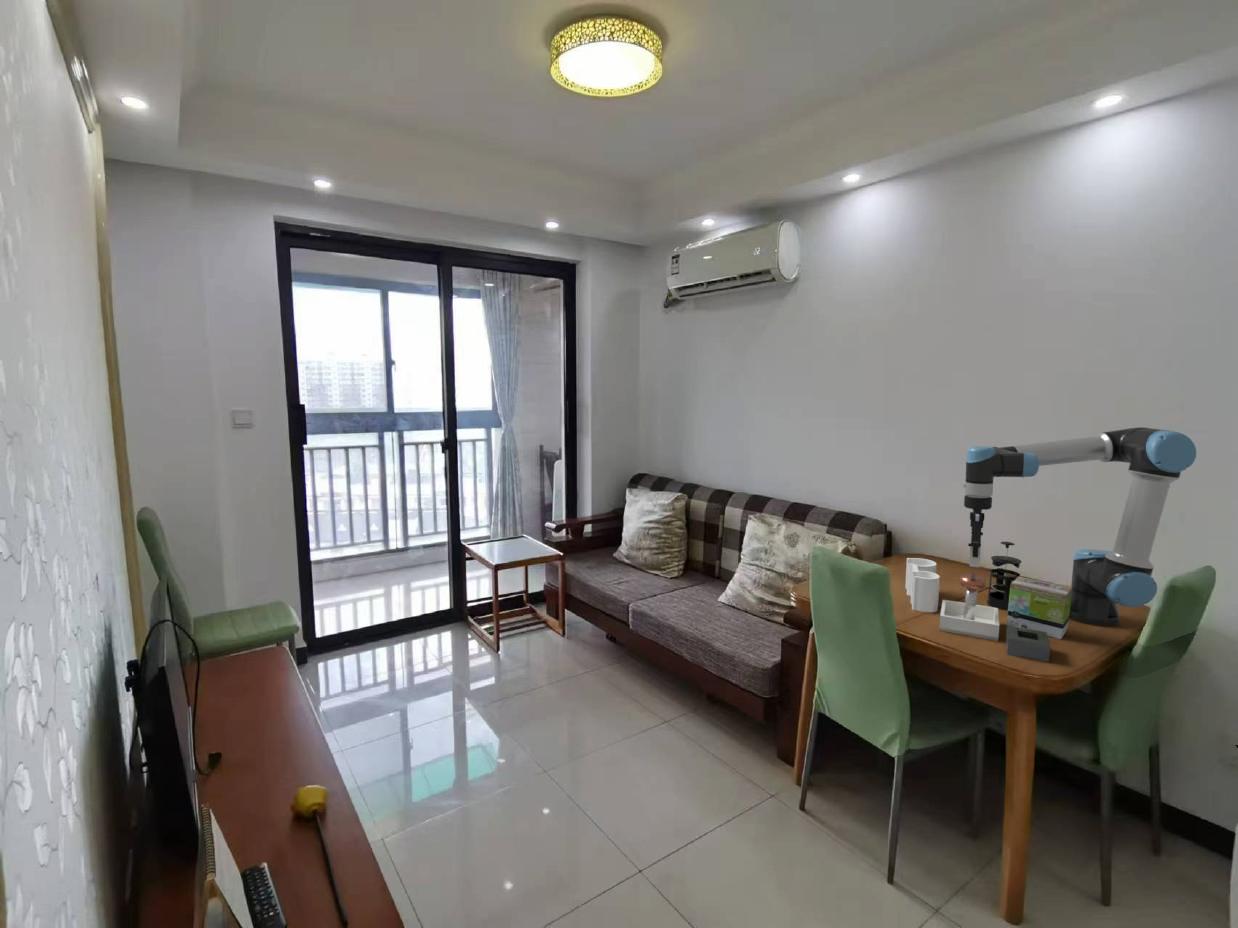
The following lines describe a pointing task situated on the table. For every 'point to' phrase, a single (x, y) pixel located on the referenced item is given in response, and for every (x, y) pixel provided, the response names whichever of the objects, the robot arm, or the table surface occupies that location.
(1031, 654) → the block
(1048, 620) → the tea box
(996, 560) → the french press
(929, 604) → the bracket
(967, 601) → the copper slotted screw
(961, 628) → the tray
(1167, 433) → the robot arm
